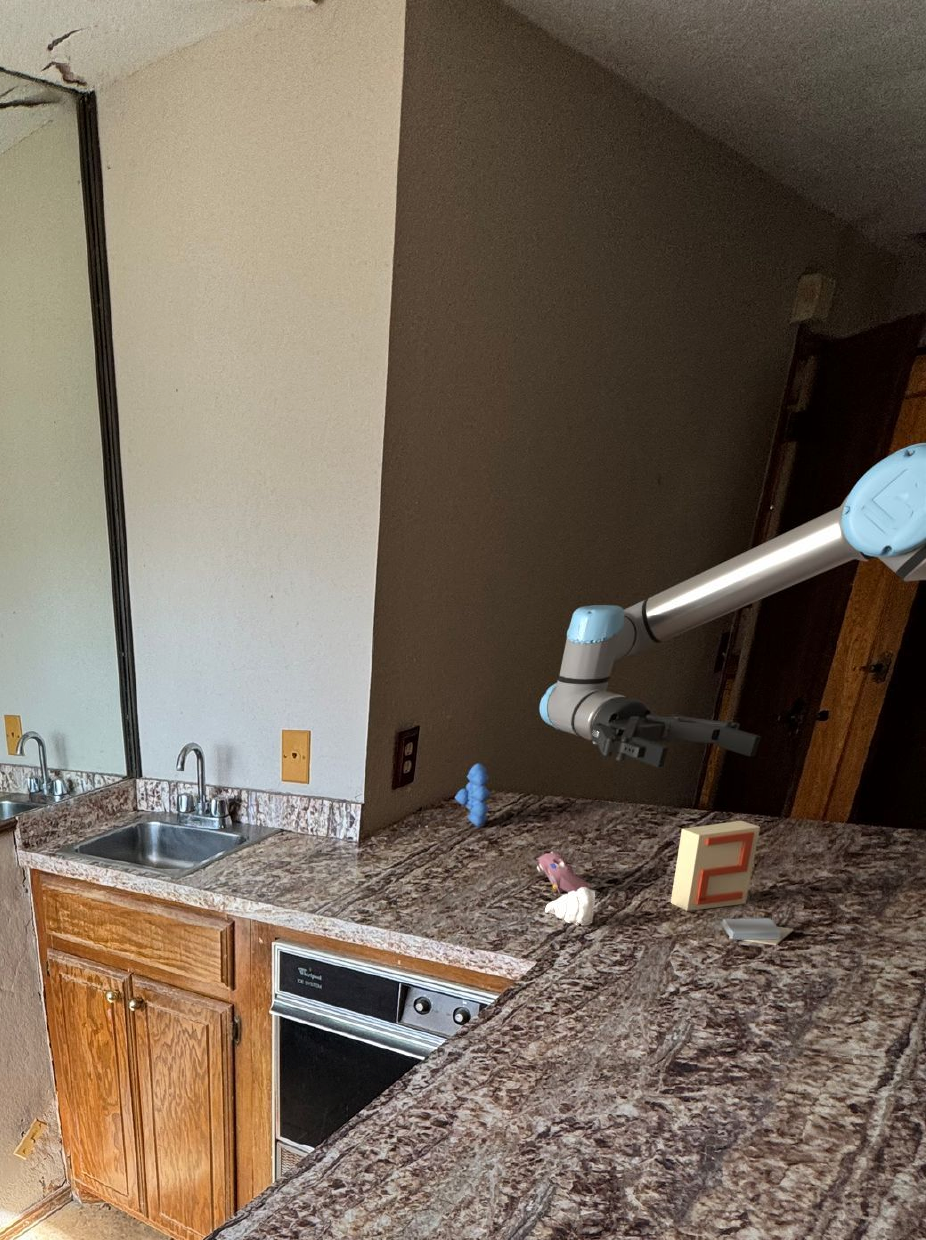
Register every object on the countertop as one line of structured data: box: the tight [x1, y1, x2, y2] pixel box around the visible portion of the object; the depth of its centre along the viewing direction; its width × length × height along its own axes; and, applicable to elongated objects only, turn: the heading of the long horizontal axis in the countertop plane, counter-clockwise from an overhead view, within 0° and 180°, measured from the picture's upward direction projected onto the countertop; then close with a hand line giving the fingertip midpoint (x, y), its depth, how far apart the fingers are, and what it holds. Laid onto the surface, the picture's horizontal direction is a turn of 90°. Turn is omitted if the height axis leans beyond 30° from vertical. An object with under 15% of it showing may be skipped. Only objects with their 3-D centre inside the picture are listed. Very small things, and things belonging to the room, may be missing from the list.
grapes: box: [454, 762, 491, 828], centre depth 178 cm, size 12×7×12 cm, turn 166°
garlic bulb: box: [544, 887, 596, 927], centre depth 127 cm, size 6×6×5 cm
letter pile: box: [721, 917, 795, 946], centre depth 111 cm, size 12×10×3 cm
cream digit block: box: [670, 820, 761, 912], centre depth 124 cm, size 8×4×11 cm, turn 89°
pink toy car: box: [536, 851, 591, 894], centre depth 140 cm, size 10×5×7 cm, turn 168°
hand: (709, 752), depth 123 cm, fingers open, 13 cm apart
